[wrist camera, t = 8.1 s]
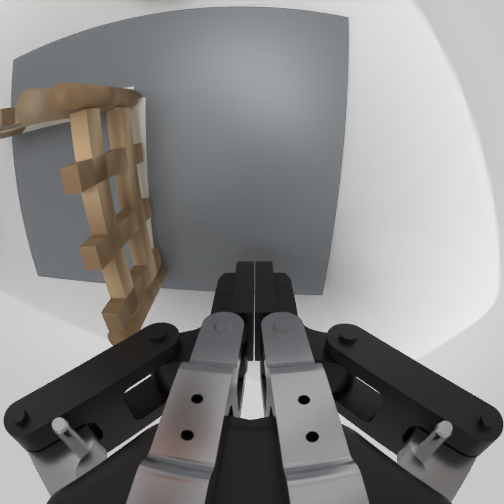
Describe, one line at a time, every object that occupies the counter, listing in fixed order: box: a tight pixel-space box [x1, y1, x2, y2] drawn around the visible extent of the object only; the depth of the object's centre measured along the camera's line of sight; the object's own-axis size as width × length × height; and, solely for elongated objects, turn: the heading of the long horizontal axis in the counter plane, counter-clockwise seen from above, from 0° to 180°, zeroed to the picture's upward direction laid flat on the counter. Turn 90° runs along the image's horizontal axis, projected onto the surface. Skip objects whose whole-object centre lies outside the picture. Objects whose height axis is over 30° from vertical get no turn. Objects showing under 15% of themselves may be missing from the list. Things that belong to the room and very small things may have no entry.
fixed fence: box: [0, 88, 115, 139], centre depth 10 cm, size 9×1×7 cm, turn 88°
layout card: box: [11, 7, 349, 295], centre depth 14 cm, size 21×16×1 cm
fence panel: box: [49, 83, 167, 346], centre depth 12 cm, size 11×1×6 cm, turn 3°
